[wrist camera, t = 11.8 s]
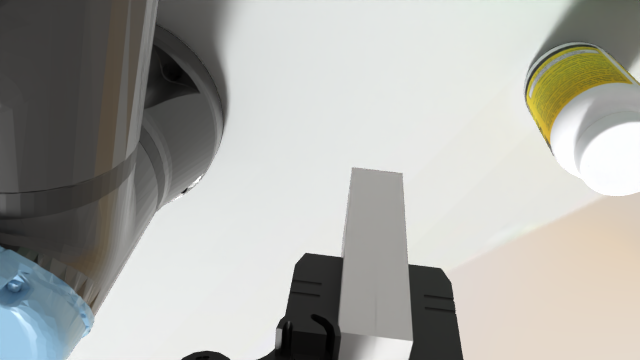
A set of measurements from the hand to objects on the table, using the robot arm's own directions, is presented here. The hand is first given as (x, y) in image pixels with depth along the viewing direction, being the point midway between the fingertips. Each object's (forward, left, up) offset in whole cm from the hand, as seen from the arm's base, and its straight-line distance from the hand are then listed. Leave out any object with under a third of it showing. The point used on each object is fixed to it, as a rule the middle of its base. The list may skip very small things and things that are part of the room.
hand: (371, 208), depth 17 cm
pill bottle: (+14, -4, -25) cm, 29 cm away
